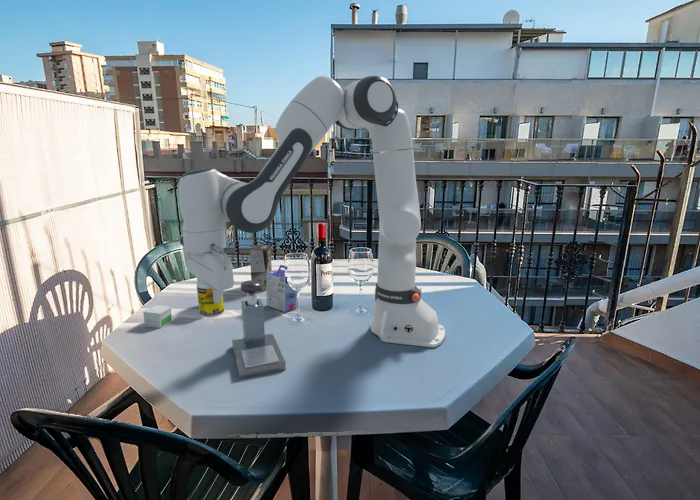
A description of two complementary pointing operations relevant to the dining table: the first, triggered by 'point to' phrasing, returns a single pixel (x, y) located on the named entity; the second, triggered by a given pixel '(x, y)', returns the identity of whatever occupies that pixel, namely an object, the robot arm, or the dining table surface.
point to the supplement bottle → (208, 300)
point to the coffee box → (260, 263)
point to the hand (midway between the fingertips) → (211, 297)
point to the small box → (157, 316)
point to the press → (256, 345)
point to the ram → (251, 290)
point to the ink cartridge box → (279, 291)
